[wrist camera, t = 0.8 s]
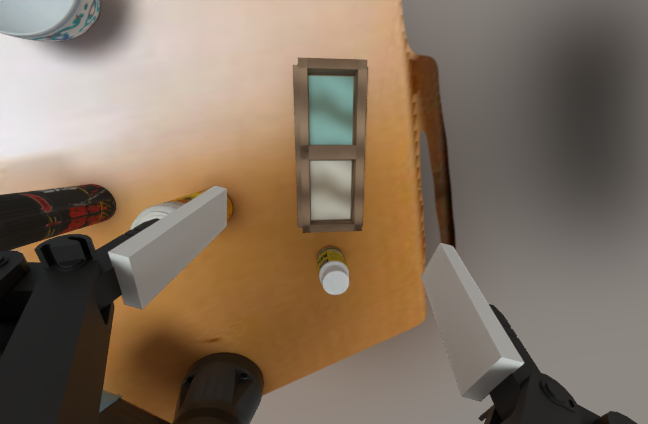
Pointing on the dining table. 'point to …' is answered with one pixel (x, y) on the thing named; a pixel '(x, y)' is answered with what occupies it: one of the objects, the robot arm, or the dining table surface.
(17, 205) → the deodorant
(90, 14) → the chinaware
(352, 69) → the divided tray
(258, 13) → the dining table surface
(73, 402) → the robot arm
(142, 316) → the dining table surface
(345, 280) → the supplement bottle
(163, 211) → the yellow canister
